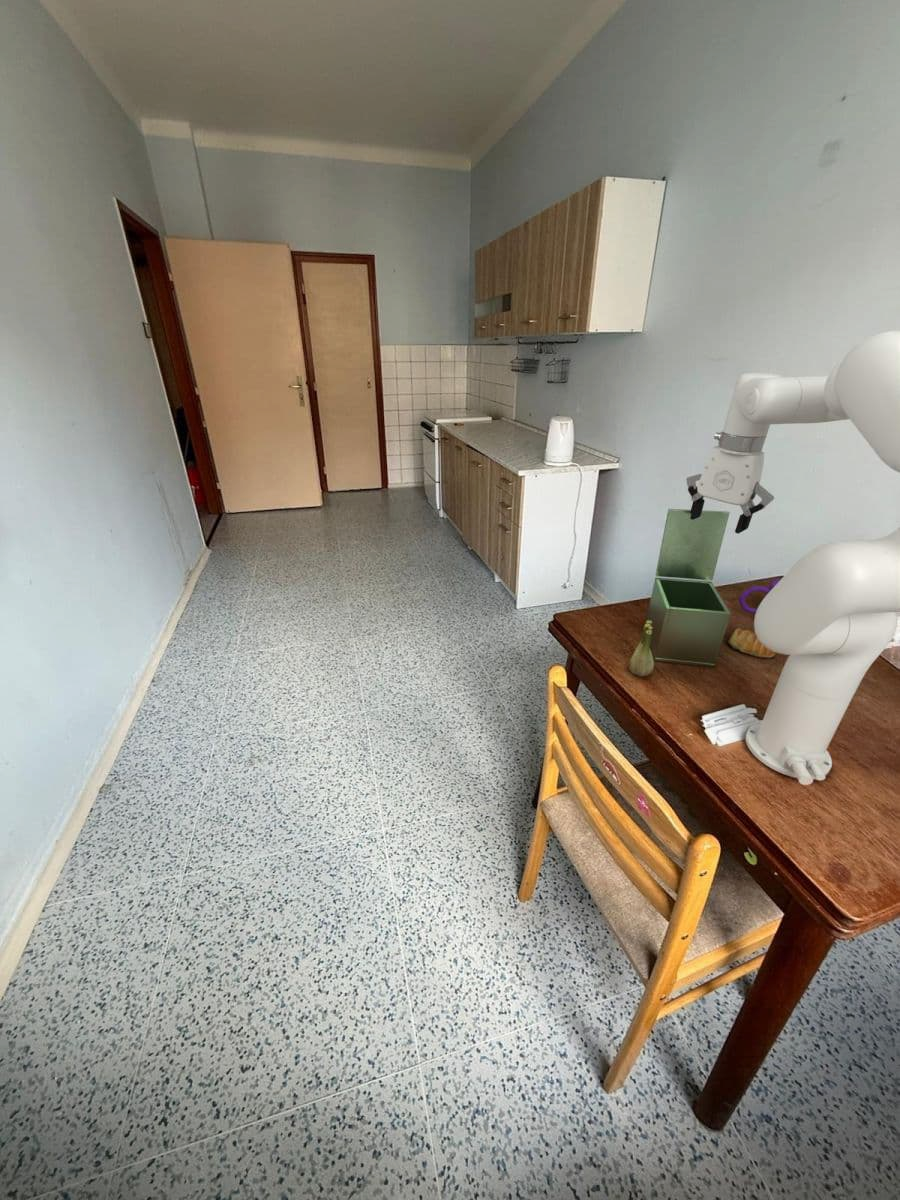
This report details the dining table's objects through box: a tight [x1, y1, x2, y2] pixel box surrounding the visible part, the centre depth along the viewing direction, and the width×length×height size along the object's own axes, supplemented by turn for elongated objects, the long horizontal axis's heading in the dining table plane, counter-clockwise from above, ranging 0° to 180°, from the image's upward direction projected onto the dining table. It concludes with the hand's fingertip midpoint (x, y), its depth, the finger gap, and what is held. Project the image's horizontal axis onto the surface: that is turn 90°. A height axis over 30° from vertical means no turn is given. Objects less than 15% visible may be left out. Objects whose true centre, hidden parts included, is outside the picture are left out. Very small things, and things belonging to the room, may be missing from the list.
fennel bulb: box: [628, 620, 655, 678], centre depth 101 cm, size 6×5×12 cm
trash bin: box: [645, 577, 731, 668], centre depth 110 cm, size 16×13×14 cm
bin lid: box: [655, 508, 730, 581], centre depth 109 cm, size 16×13×1 cm
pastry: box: [727, 627, 777, 658], centre depth 110 cm, size 9×7×4 cm
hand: (716, 524), depth 101 cm, fingers open, 9 cm apart
